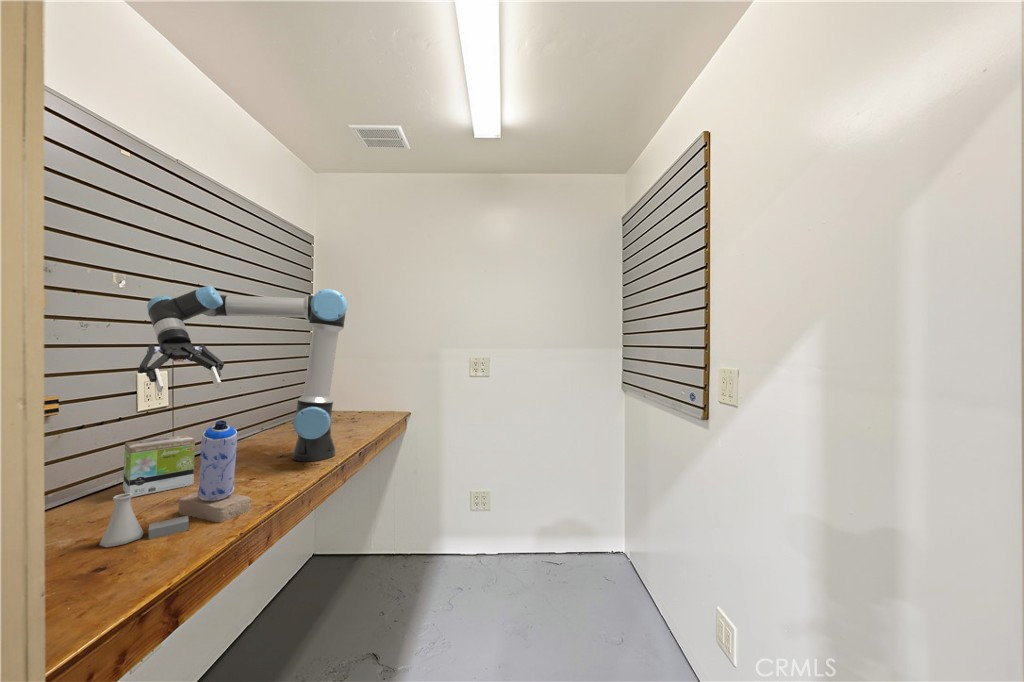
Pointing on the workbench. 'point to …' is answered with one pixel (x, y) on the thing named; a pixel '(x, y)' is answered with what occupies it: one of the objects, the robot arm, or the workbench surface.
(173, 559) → the workbench surface
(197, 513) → the brick
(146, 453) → the tea box
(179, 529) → the block
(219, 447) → the aerosol can
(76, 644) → the workbench surface
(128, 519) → the flask
